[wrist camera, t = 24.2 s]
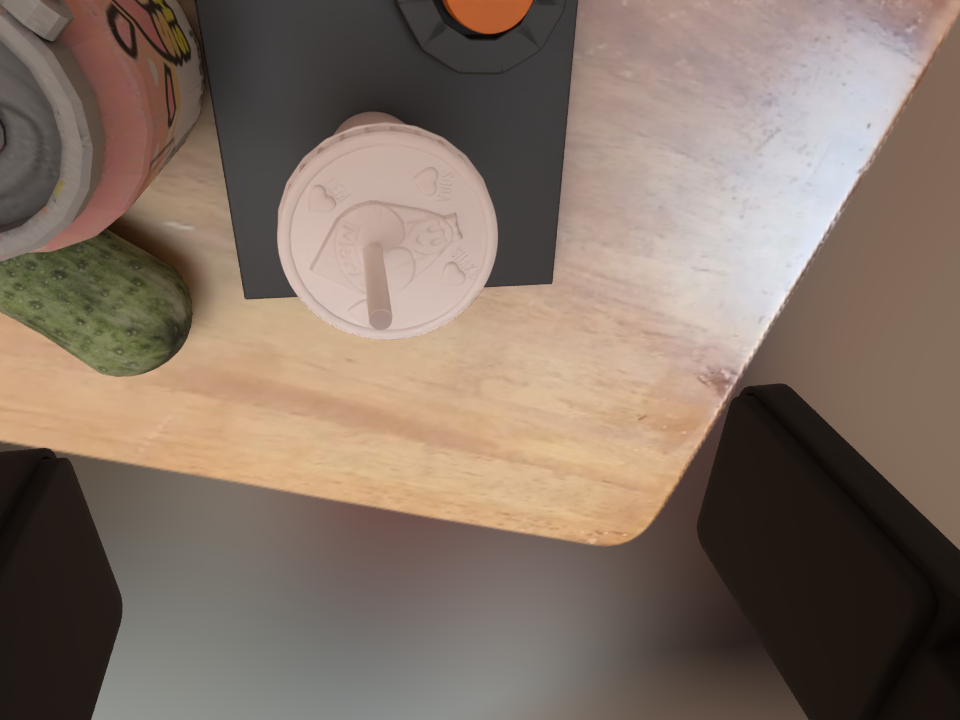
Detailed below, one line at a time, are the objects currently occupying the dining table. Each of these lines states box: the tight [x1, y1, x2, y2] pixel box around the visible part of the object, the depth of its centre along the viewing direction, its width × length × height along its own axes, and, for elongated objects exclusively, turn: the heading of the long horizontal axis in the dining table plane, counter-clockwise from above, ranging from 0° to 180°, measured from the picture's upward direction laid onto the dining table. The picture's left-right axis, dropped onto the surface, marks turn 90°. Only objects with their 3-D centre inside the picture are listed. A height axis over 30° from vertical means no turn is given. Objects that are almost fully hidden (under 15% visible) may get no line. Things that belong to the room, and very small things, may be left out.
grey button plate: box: [195, 0, 578, 299], centre depth 26 cm, size 16×14×3 cm
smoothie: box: [277, 112, 498, 340], centre depth 21 cm, size 6×6×14 cm
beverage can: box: [0, 0, 205, 261], centre depth 20 cm, size 9×8×12 cm
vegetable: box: [0, 228, 193, 377], centre depth 25 cm, size 14×5×5 cm, turn 46°
